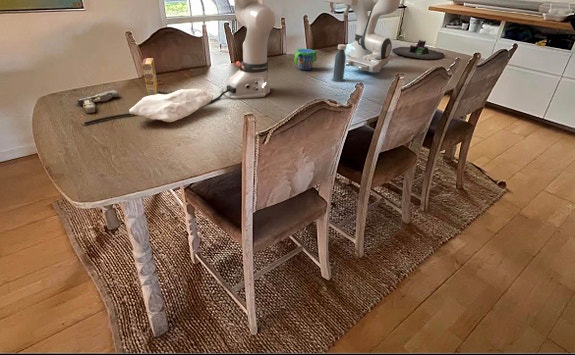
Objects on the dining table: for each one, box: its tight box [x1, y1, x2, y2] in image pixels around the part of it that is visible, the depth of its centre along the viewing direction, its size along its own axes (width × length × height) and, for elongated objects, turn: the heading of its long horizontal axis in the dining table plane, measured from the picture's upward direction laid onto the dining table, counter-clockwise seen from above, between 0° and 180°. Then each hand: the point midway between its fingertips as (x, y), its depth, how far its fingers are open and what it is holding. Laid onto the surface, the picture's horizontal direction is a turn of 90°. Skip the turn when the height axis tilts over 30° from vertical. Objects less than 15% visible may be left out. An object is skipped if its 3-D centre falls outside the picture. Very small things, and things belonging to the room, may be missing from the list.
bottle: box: [332, 49, 347, 83], centre depth 191 cm, size 6×6×18 cm
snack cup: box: [293, 48, 318, 71], centre depth 208 cm, size 16×10×10 cm
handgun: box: [76, 89, 120, 114], centre depth 155 cm, size 3×18×15 cm
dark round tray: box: [391, 39, 445, 60], centre depth 250 cm, size 35×35×9 cm
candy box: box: [141, 57, 160, 96], centre depth 163 cm, size 9×4×15 cm, turn 13°
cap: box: [337, 43, 347, 51], centre depth 186 cm, size 4×4×2 cm
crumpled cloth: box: [128, 88, 214, 123], centre depth 147 cm, size 24×35×9 cm
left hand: (338, 13), depth 176 cm, fingers open, 8 cm apart
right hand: (353, 66), depth 199 cm, fingers open, 8 cm apart
